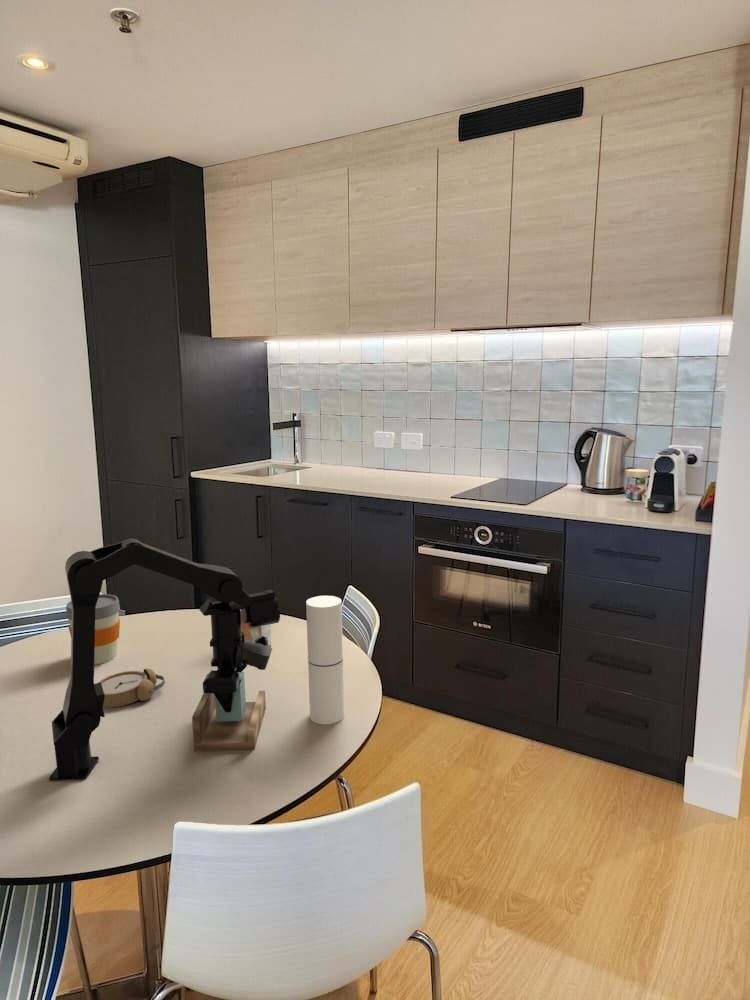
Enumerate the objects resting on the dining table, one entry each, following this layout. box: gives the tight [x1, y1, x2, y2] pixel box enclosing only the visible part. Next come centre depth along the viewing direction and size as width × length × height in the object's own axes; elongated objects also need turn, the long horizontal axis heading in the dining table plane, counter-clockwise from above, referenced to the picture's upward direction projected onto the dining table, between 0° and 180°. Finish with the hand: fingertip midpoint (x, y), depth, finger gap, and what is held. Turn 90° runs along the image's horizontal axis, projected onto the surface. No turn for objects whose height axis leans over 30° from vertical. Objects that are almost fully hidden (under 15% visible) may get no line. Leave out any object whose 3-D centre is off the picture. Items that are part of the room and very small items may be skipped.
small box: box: [240, 610, 272, 646], centre depth 171 cm, size 8×6×10 cm
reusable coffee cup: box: [65, 593, 121, 666], centre depth 165 cm, size 13×13×15 cm
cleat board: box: [191, 690, 267, 752], centre depth 131 cm, size 16×11×7 cm
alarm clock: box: [97, 668, 166, 708], centre depth 146 cm, size 11×5×15 cm
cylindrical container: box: [305, 595, 345, 725], centre depth 133 cm, size 7×7×25 cm
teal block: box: [215, 671, 247, 722], centre depth 130 cm, size 5×5×8 cm
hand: (230, 705), depth 130 cm, fingers closed on teal block, 5 cm apart
